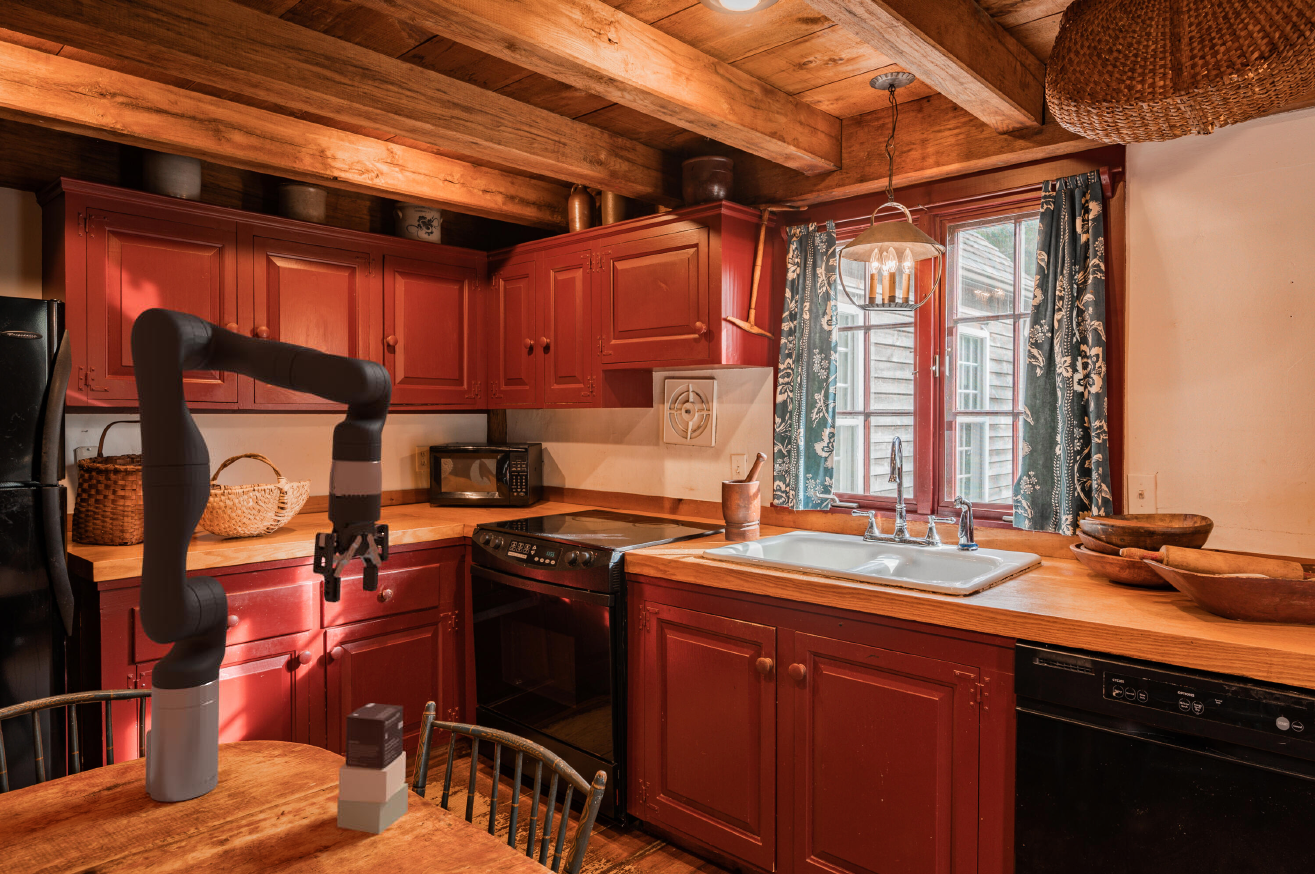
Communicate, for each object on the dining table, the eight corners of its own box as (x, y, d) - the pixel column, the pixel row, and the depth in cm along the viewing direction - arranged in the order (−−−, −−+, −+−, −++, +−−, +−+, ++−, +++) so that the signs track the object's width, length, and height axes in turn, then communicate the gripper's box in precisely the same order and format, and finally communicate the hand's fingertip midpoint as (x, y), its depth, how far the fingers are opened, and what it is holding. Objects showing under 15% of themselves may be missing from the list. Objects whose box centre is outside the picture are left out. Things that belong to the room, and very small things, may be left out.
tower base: (337, 828, 115) (337, 797, 115) (367, 806, 122) (367, 777, 122) (379, 835, 113) (379, 804, 113) (407, 813, 120) (407, 783, 120)
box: (382, 770, 114) (383, 719, 114) (344, 766, 115) (345, 716, 115) (403, 753, 120) (404, 705, 120) (366, 749, 121) (367, 701, 121)
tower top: (338, 799, 114) (339, 768, 114) (360, 778, 121) (361, 749, 121) (386, 802, 114) (386, 771, 114) (405, 780, 121) (405, 751, 121)
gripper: (365, 485, 129) (361, 585, 130) (301, 491, 116) (297, 602, 116) (404, 488, 127) (401, 590, 127) (344, 495, 113) (339, 608, 114)
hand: (351, 595), depth 122 cm, fingers open, 8 cm apart
